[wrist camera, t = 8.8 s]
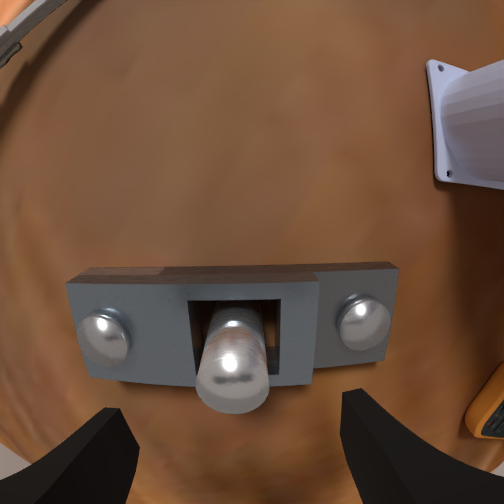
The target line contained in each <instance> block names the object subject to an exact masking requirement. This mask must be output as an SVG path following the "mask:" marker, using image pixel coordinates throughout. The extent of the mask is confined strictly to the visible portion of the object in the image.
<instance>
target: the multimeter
mask: <svg viewBox="0 0 504 504" xmlns="http://www.w3.org/2000/svg"><path fill="white" fill-rule="evenodd" d="M465 423H466V426H467V427H468V429H469V430H470V432H471V433H472V434H473V436H474V437H476V438H487V439H502V440H504V362H503V363H501V364H500V365H499V366H498V368H497V369H496V370H495V372H494V373H493V374H492V376H491V377H490V379H489V380H488V381H487V383H486V384H485V385H484V387H483V388H482V389H481V391H480V392H479V393H478V395H477V396H476V397H475V398H474V400H473V401H472V402H471V404H470V405H469V407H468V409H467V411H466V414H465Z"/></svg>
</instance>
